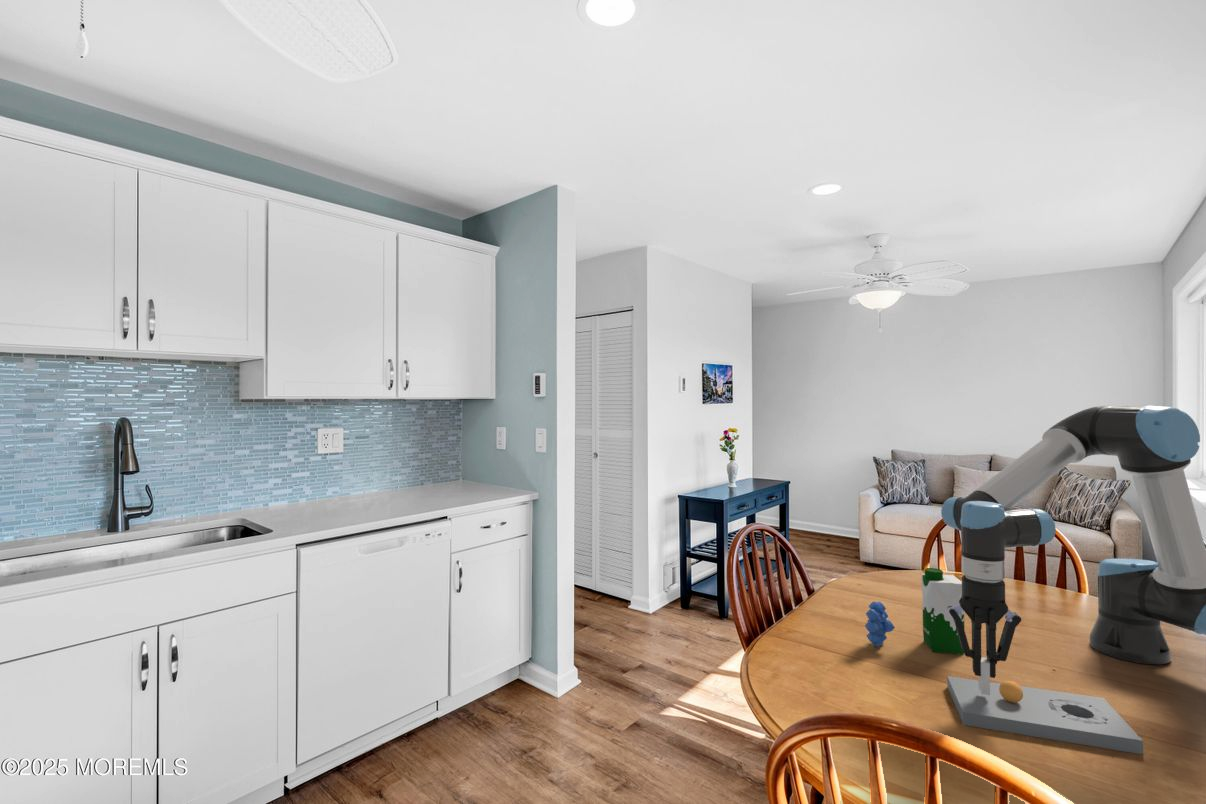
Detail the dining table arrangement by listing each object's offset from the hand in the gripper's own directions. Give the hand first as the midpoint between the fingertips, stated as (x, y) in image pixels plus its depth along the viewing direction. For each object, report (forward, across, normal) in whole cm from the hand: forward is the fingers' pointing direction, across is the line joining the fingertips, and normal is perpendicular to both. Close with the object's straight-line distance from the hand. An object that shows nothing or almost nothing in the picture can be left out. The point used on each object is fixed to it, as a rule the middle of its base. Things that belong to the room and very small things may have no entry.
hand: (984, 691), depth 120 cm
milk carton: (+4, -2, +31) cm, 31 cm away
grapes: (+4, -18, +26) cm, 31 cm away
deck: (+4, +9, 0) cm, 9 cm away
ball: (-1, +5, 0) cm, 5 cm away
